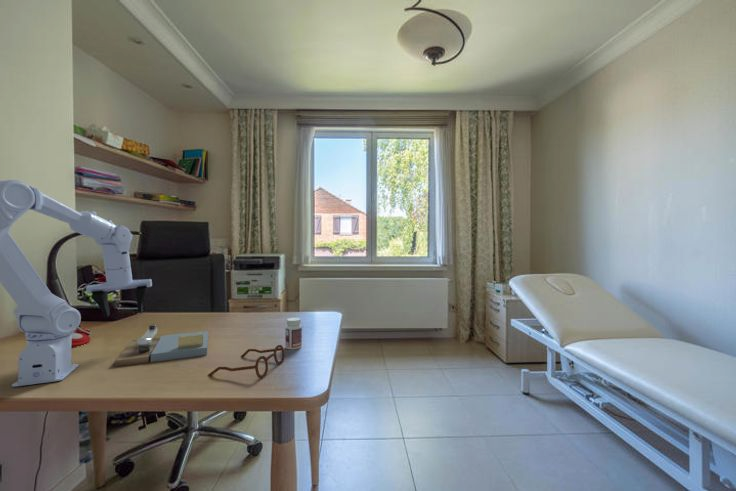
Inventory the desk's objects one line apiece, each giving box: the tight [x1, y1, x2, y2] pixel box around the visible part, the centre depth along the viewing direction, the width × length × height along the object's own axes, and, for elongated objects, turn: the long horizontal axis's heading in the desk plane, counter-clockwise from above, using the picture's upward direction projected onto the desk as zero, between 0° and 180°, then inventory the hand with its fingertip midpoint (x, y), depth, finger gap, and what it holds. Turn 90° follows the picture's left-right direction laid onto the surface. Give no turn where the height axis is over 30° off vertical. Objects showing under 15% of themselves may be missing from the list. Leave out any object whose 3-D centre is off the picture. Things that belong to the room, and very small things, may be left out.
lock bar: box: [136, 324, 158, 347], centre depth 88 cm, size 15×3×2 cm, turn 26°
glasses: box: [207, 344, 286, 379], centre depth 77 cm, size 13×13×5 cm
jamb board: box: [114, 336, 161, 368], centre depth 86 cm, size 18×7×3 cm, turn 26°
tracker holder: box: [71, 326, 93, 349], centre depth 94 cm, size 12×4×10 cm
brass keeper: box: [178, 334, 203, 348], centre depth 87 cm, size 4×6×3 cm
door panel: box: [150, 330, 210, 363], centre depth 90 cm, size 18×13×2 cm
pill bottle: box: [284, 317, 303, 351], centre depth 92 cm, size 5×5×8 cm
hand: (124, 313), depth 89 cm, fingers open, 7 cm apart
